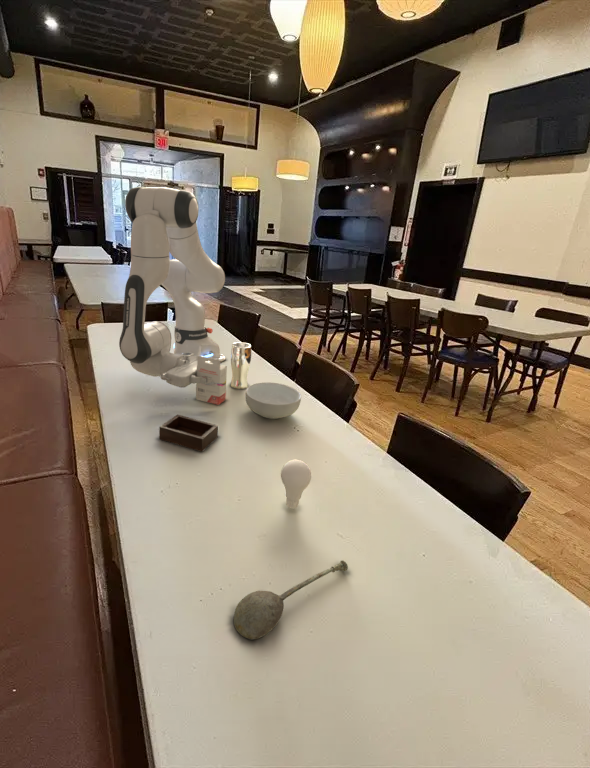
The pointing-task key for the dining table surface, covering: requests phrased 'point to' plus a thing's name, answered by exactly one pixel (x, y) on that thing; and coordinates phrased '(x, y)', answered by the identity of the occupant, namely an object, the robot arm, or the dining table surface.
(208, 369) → the ink cartridge box
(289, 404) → the cereal bowl
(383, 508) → the dining table surface
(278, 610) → the soupspoon
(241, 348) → the beer glass
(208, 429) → the tray
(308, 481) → the lightbulb
